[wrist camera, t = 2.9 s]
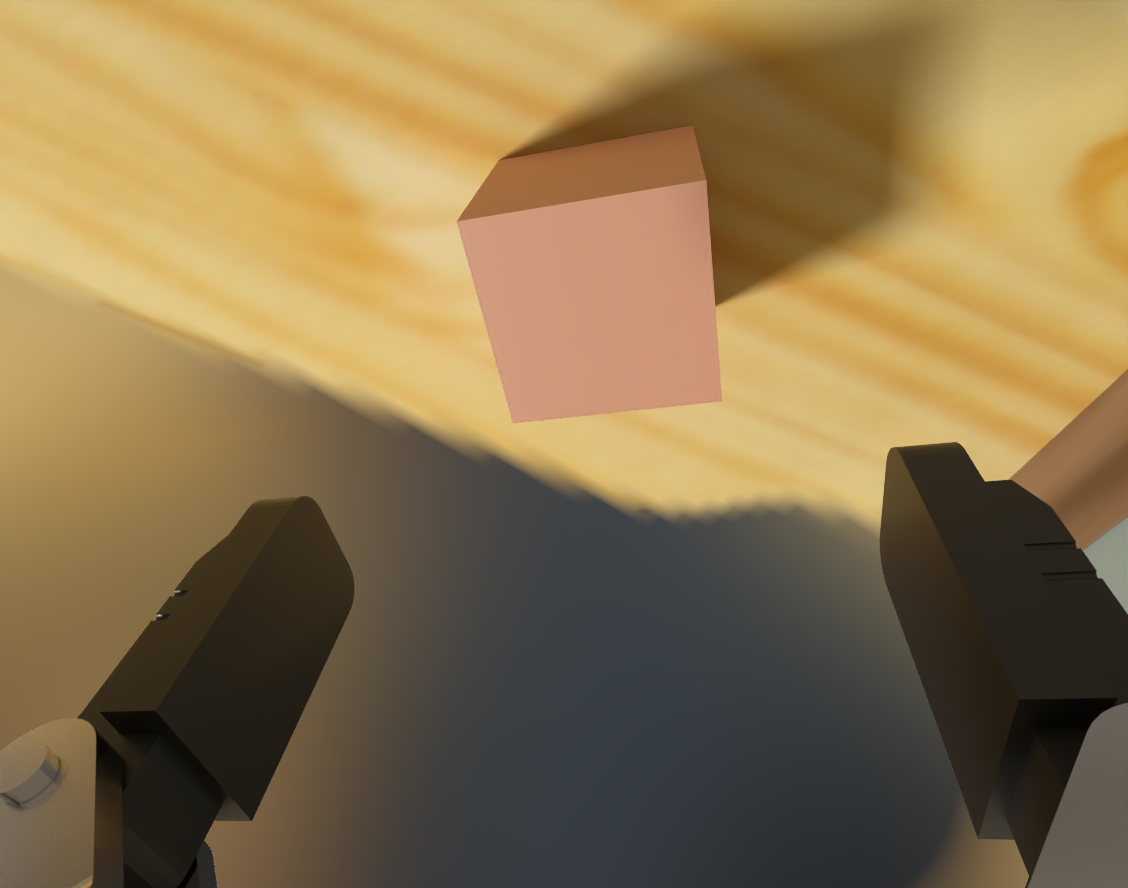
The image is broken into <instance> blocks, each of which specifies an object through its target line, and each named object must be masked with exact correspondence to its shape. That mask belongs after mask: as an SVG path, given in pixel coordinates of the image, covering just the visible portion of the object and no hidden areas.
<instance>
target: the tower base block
mask: <svg viewBox="0 0 1128 888" xmlns="http://www.w3.org/2000/svg"><path fill="white" fill-rule="evenodd" d="M1009 480H1013V481H1014V482H1016V483H1017V484H1019V485H1020V486H1022V487H1023V488H1025V489H1026V490H1027V491H1029V492H1030V493H1032V494H1033V495H1035V496H1036V497H1038V498H1039V499H1041V500H1042V501H1044V502H1045V503H1046V504H1048V505H1049V506H1051V507H1052V508H1053V510H1054V511H1055V513H1056V514H1057V515H1058V517H1059V518H1060V520H1061V521H1062V522H1063V524H1064V525H1065V527H1066V528H1067V529H1068V531H1069V532H1070V534H1071V535H1072V536H1073V538H1074V539H1075V541H1076V547H1077V548H1081V549H1082V551H1083V550H1085V549H1086V548H1087V547H1089V546H1090V545H1091V544H1093V543H1094V542H1095V541H1097V540H1098V539H1100V538H1101V537H1102V536H1104V535H1105V534H1106V533H1108V532H1109V531H1110V530H1112V529H1113V528H1114V527H1116V526H1117V525H1118V524H1120V523H1121V522H1122V521H1124V520H1125V519H1126V518H1128V370H1127V371H1126V372H1124V373H1123V374H1122V375H1121V376H1120V377H1119V378H1118V379H1117V380H1116V381H1115V382H1114V383H1113V384H1112V385H1110V386H1109V387H1108V388H1107V389H1106V390H1105V391H1104V392H1103V393H1102V394H1101V395H1100V396H1099V397H1097V398H1096V399H1095V400H1094V401H1093V402H1092V403H1091V404H1090V405H1089V406H1088V407H1087V408H1086V409H1085V410H1083V411H1082V412H1081V413H1080V414H1079V415H1078V416H1077V417H1076V418H1075V419H1074V420H1073V421H1072V422H1070V423H1069V424H1068V425H1067V426H1066V427H1065V428H1064V429H1063V430H1062V431H1061V432H1060V433H1059V434H1058V435H1056V436H1055V437H1054V438H1053V439H1052V440H1051V441H1050V442H1049V443H1048V444H1047V445H1046V446H1045V447H1043V448H1042V449H1041V450H1040V451H1039V452H1038V453H1037V454H1036V455H1035V456H1034V457H1033V458H1032V459H1030V460H1029V461H1028V462H1027V463H1026V464H1025V465H1024V466H1023V467H1022V468H1021V469H1020V470H1019V471H1018V472H1016V473H1015V474H1014V475H1013V476H1012V477H1011V478H1010V479H1009Z"/></svg>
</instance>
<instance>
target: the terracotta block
mask: <svg viewBox="0 0 1128 888" xmlns="http://www.w3.org/2000/svg"><path fill="white" fill-rule="evenodd" d="M457 224H458V228H459V231H460V235H461V239H462V242H463V246H464V249H465V253H466V256H467V260H468V264H469V267H470V271H471V274H472V278H473V281H474V285H475V289H476V292H477V296H478V299H479V303H480V306H481V310H482V314H483V317H484V321H485V324H486V328H487V331H488V335H489V339H490V342H491V346H492V349H493V353H494V356H495V360H496V364H497V367H498V371H499V374H500V378H501V381H502V385H503V389H504V392H505V396H506V399H507V403H508V407H509V410H510V414H511V417H512V421H513V423H521V422H530V421H539V420H549V419H558V418H568V417H577V416H587V415H596V414H606V413H615V412H625V411H634V410H644V409H653V408H662V407H672V406H681V405H691V404H700V403H710V402H719V401H722V395H721V381H720V367H719V353H718V339H717V324H716V310H715V296H714V282H713V268H712V253H711V239H710V225H709V211H708V196H707V182H706V177H705V172H704V168H703V164H702V160H701V156H700V152H699V148H698V144H697V140H696V136H695V132H694V128H693V125H689V126H684V127H678V128H673V129H668V130H662V131H657V132H651V133H646V134H640V135H635V136H629V137H624V138H618V139H613V140H607V141H602V142H596V143H591V144H585V145H580V146H574V147H569V148H563V149H558V150H552V151H547V152H541V153H536V154H530V155H525V156H519V157H514V158H508V159H503V160H499V161H498V162H497V164H496V165H495V167H494V168H493V170H492V171H491V172H490V174H489V175H488V177H487V178H486V180H485V181H484V183H483V184H482V185H481V187H480V188H479V190H478V191H477V193H476V194H475V196H474V197H473V199H472V200H471V201H470V203H469V204H468V206H467V207H466V209H465V210H464V212H463V213H462V215H461V216H460V217H459V219H458V220H457Z"/></svg>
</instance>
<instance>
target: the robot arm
mask: <svg viewBox="0 0 1128 888" xmlns="http://www.w3.org/2000/svg"><path fill="white" fill-rule="evenodd" d="M880 555H881V563H882V569H883V574H884V578H885V582H886V585H887V588H888V591H889V594H890V596H891V599H892V602H893V605H894V608H895V610H896V613H897V616H898V619H899V621H900V624H901V627H902V629H903V632H904V635H905V638H906V641H907V644H908V646H909V649H910V652H911V655H912V657H913V660H914V663H915V666H916V668H917V671H918V674H919V677H920V679H921V682H922V685H923V688H924V690H925V693H926V696H927V699H928V702H929V704H930V707H931V710H932V713H933V716H934V718H935V721H936V724H937V726H938V729H939V732H940V735H941V738H942V741H943V743H944V746H945V749H946V752H947V754H948V757H949V760H950V763H951V765H952V768H953V771H954V774H955V776H956V779H957V782H958V785H959V787H960V790H961V793H962V796H963V799H964V801H965V804H966V807H967V810H968V812H969V815H970V818H971V821H972V824H973V826H974V829H975V832H976V835H977V837H978V839H1011V840H1013V839H1014V840H1015V842H1016V844H1017V847H1018V849H1019V852H1020V854H1021V857H1022V859H1023V862H1024V864H1025V867H1026V869H1027V872H1028V874H1029V878H1028V881H1027V884H1026V886H1025V888H1128V614H1127V613H1126V611H1125V610H1124V608H1123V607H1122V606H1121V604H1120V603H1119V601H1118V600H1117V598H1116V597H1115V596H1114V594H1113V593H1112V591H1111V590H1110V589H1109V587H1108V586H1107V584H1106V583H1105V582H1104V580H1103V579H1102V578H1098V577H1097V574H1096V571H1097V570H1096V569H1095V567H1094V566H1093V565H1092V563H1091V562H1090V560H1089V559H1088V558H1087V556H1086V555H1085V553H1084V552H1083V551H1082V549H1081V548H1077V547H1076V541H1075V539H1074V538H1073V536H1072V535H1071V534H1070V532H1069V531H1068V529H1067V528H1066V527H1065V525H1064V524H1063V522H1062V521H1061V520H1060V518H1059V517H1058V515H1057V514H1056V513H1055V511H1054V510H1053V508H1052V507H1051V506H1049V505H1048V504H1046V503H1045V502H1044V501H1042V500H1041V499H1039V498H1038V497H1036V496H1035V495H1033V494H1032V493H1030V492H1029V491H1027V490H1026V489H1025V488H1023V487H1022V486H1020V485H1019V484H1017V483H1016V482H1014V481H1013V480H1001V481H988V482H985V481H984V480H983V478H982V477H981V475H980V473H979V472H978V470H977V468H976V467H975V465H974V464H973V462H972V460H971V459H970V457H969V455H968V454H967V452H966V451H965V449H964V448H963V446H962V445H960V444H959V443H957V442H952V443H940V444H929V445H917V446H905V447H894V448H891V449H890V451H889V453H888V456H887V462H886V473H885V484H884V495H883V507H882V518H881V530H880ZM174 592H175V595H174V596H173V597H169V598H168V600H167V601H166V602H165V604H164V605H163V606H162V608H161V609H160V610H159V612H158V613H157V614H156V616H157V619H156V621H151V622H150V623H149V625H148V626H147V627H146V629H145V630H144V631H143V633H142V634H141V635H140V637H139V638H138V639H137V641H136V642H135V643H134V645H133V646H132V647H131V648H130V650H129V651H128V652H127V654H126V655H125V656H124V658H123V659H122V660H121V662H120V663H119V664H118V666H117V667H116V668H115V670H114V671H113V672H112V674H111V675H110V677H109V678H108V679H107V680H106V682H105V683H104V684H103V686H102V687H101V688H100V690H99V691H98V692H97V694H96V695H95V696H94V697H93V699H92V700H91V701H90V703H89V704H88V705H87V707H86V708H85V709H84V711H83V712H82V713H81V714H80V715H79V717H78V718H67V719H61V720H56V721H53V722H50V723H47V724H45V725H42V726H40V727H38V728H36V729H33V730H32V731H30V732H28V733H26V734H25V735H23V736H21V737H20V738H18V739H17V740H15V741H14V742H12V743H11V744H10V745H8V746H7V747H6V748H4V749H3V750H2V751H1V752H0V888H217V880H216V873H215V865H214V858H213V854H212V850H211V849H210V847H209V845H208V844H207V843H206V842H205V841H204V839H205V837H206V835H207V833H208V831H209V829H210V827H211V826H212V824H213V821H214V820H218V821H221V820H222V821H252V820H253V817H254V815H255V813H256V811H257V809H258V806H259V805H260V803H261V800H262V798H263V796H264V794H265V792H266V790H267V787H268V785H269V783H270V781H271V779H272V777H273V775H274V773H275V770H276V768H277V766H278V764H279V762H280V760H281V758H282V755H283V753H284V751H285V749H286V747H287V745H288V742H289V740H290V738H291V736H292V734H293V732H294V730H295V728H296V725H297V723H298V721H299V719H300V717H301V715H302V713H303V710H304V708H305V706H306V704H307V702H308V700H309V698H310V695H311V693H312V691H313V689H314V687H315V685H316V683H317V680H318V678H319V676H320V674H321V672H322V670H323V667H324V665H325V663H326V661H327V659H328V657H329V655H330V653H331V650H332V648H333V646H334V644H335V642H336V640H337V638H338V635H339V633H340V631H341V629H342V627H343V625H344V623H345V621H346V618H347V616H348V614H349V612H350V609H351V607H352V603H353V598H354V579H353V574H352V571H351V568H350V566H349V564H348V562H347V560H346V558H345V556H344V554H343V552H342V551H341V548H340V546H339V544H338V542H337V540H336V538H335V536H334V534H333V533H332V531H331V529H330V527H329V525H328V523H327V521H326V519H325V517H324V515H323V513H322V511H321V509H320V507H319V505H318V504H317V503H316V502H315V501H314V500H313V499H312V498H310V497H306V496H303V497H290V498H278V499H267V500H259V501H256V502H255V503H253V504H252V505H251V506H250V507H249V508H248V510H247V511H246V512H245V514H244V515H243V516H242V518H241V519H240V520H239V522H238V523H237V525H236V526H235V527H234V529H233V530H232V531H231V533H230V534H229V535H228V536H227V537H225V538H224V539H223V540H222V541H221V542H220V543H218V544H217V545H216V546H215V547H213V548H212V549H211V550H210V551H209V552H208V553H206V554H205V555H204V556H203V557H201V558H200V559H199V560H198V561H197V562H196V563H195V564H194V565H193V567H192V568H191V569H190V571H189V572H188V573H187V575H186V576H185V577H184V579H183V580H182V581H181V583H180V584H179V585H178V587H177V588H176V589H175V590H174Z"/></svg>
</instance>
